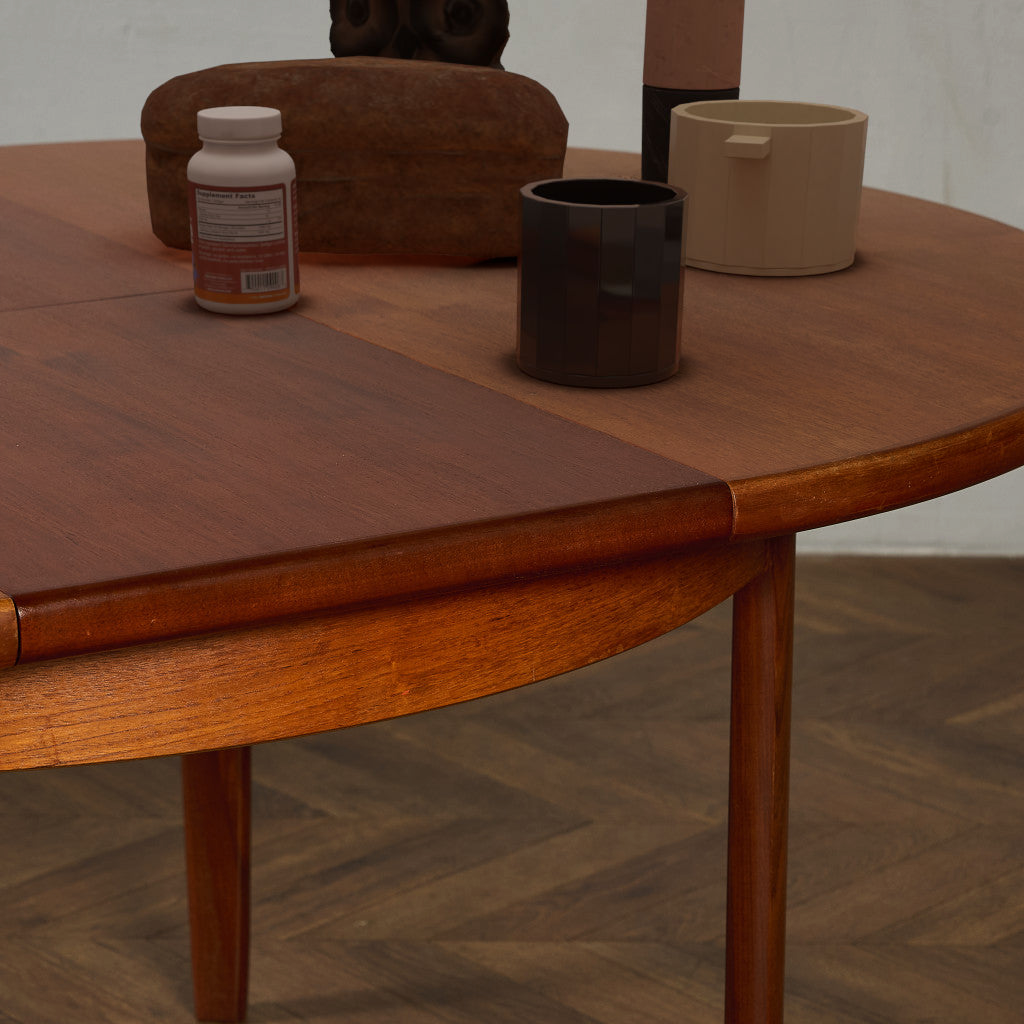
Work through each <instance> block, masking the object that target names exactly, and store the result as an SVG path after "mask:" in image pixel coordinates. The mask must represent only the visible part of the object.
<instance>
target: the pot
mask: <svg viewBox="0 0 1024 1024" xmlns="http://www.w3.org/2000/svg"><path fill="white" fill-rule="evenodd" d="M868 127H869V114H866V113H864V112H862V111H861V110H858V109H854V108H850V107H845V106H840V105H835V104H825V103H818V102H817V103H816V102H806V101H797V100H795V101H793V100H774V99H739V100H718V101H700V102H693V103H687V104H681V105H678V106H677V107H675V108H673V109H671V127H670V147H669V167H668V184H669V185H672V186H676V187H679V188H682V189H683V190H685V191H686V192H687V193H688V194H689V207H688V225H687V244H686V262H685V266H688V267H691V268H696V269H701V270H706V271H711V272H717V273H724V274H732V275H739V276H742V275H743V276H754V277H755V276H757V277H801V276H814V275H822V274H827V273H828V274H829V273H833V272H837V271H840V270H845V269H846V268H848V267H850V266H851V265H853V263H854V261H855V253H856V252H857V246H858V237H859V235H858V234H859V226H860V216H861V215H860V214H861V205H862V204H861V203H862V193H863V192H862V191H863V181H864V171H865V159H866V148H867V139H868Z"/></svg>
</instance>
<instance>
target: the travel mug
mask: <svg viewBox="0 0 1024 1024" xmlns="http://www.w3.org/2000/svg"><path fill="white" fill-rule="evenodd" d="M745 5H746V0H646V8H645V9H646V10H645V27H644V28H645V29H644V44H643V45H644V48H643V67H642V86H641V88H642V90H641V91H642V92H641V93H642V94H641V96H642V97H641V152H640V153H641V159H640V160H641V161H640V163H641V164H640V180H646V181H653V182H660V183H665V184H668V167H669V147H670V127H671V109H673V108H675V107H677V106H678V105H681V104H687V103H693V102H700V101H718V100H740V93H741V92H740V91H741V87H740V86H741V79H742V77H741V76H742V60H743V43H744V42H743V41H744V25H745Z"/></svg>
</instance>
